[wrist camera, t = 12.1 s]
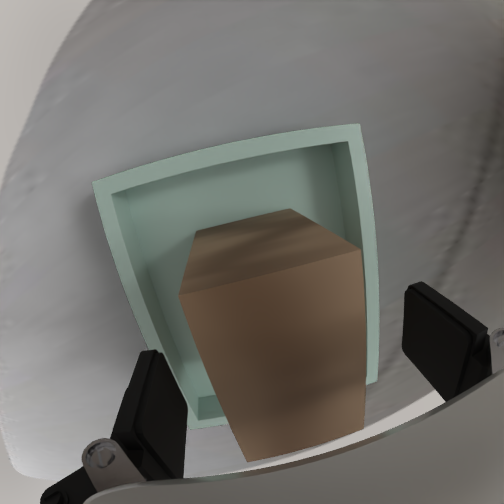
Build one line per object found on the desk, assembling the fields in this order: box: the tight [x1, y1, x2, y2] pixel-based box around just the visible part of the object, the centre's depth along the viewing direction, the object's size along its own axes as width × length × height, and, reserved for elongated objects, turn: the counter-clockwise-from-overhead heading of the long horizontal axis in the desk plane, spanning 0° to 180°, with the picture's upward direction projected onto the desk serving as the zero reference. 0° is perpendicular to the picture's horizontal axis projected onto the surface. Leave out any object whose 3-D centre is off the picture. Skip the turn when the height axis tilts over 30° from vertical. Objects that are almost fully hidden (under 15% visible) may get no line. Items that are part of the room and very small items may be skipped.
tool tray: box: [92, 123, 379, 430], centre depth 16 cm, size 13×16×3 cm
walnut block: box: [178, 208, 366, 462], centre depth 13 cm, size 5×8×8 cm, turn 12°
